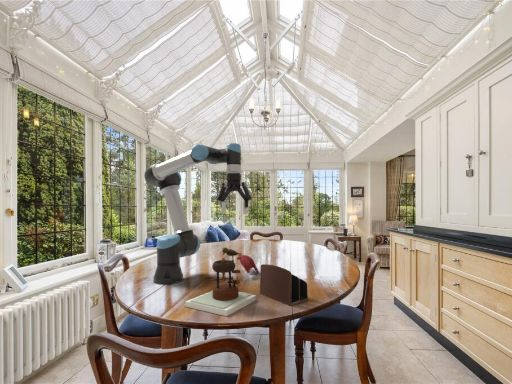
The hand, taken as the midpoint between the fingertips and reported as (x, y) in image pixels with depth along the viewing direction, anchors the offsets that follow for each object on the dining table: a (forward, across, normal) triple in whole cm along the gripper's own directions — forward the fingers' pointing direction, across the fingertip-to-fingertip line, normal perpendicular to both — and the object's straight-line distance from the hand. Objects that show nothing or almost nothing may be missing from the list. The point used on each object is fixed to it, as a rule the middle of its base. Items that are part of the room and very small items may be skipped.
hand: (234, 214), depth 154 cm
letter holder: (+35, -33, +11) cm, 49 cm away
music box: (+32, -16, +29) cm, 46 cm away
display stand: (+35, -15, +30) cm, 48 cm away
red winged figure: (+35, +4, -19) cm, 40 cm away
